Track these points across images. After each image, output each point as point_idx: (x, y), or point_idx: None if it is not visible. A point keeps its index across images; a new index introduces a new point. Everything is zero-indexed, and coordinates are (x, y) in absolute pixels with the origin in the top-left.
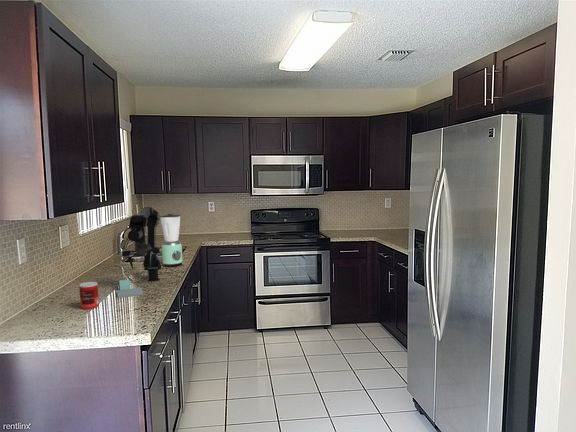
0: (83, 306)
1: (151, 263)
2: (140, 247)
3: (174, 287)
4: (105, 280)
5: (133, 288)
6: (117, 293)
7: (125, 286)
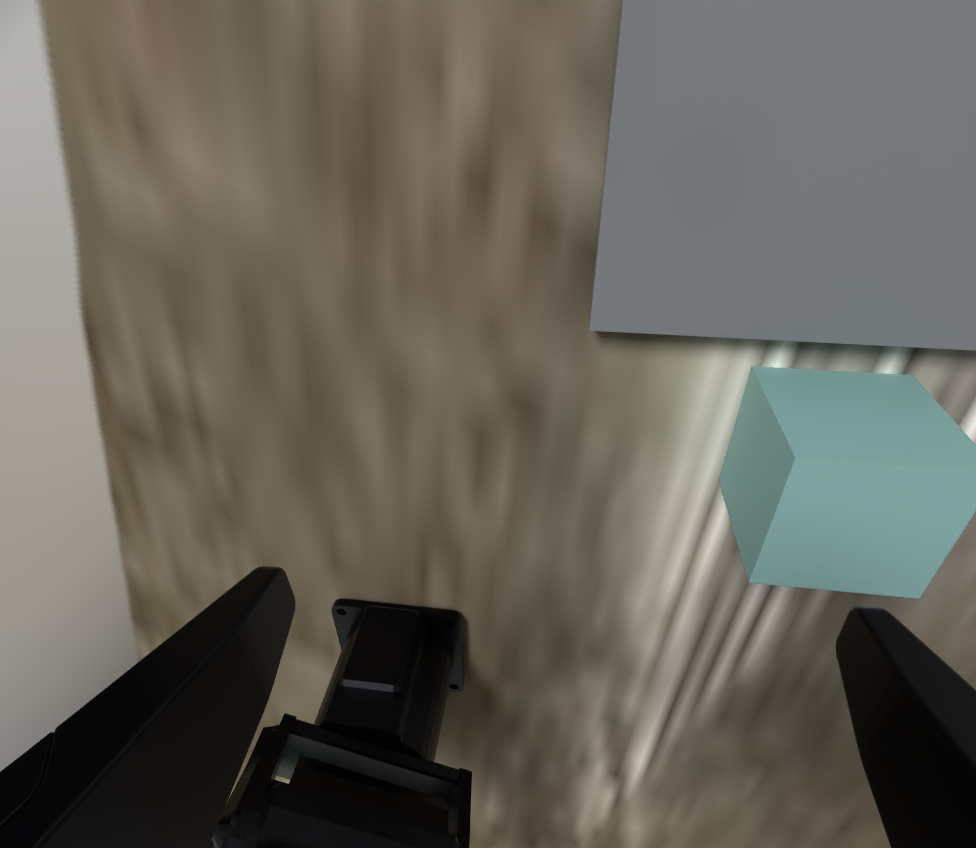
0: None
1: (190, 637)
2: None
3: (66, 141)
4: (833, 818)
5: (719, 334)
6: None
7: (849, 407)
